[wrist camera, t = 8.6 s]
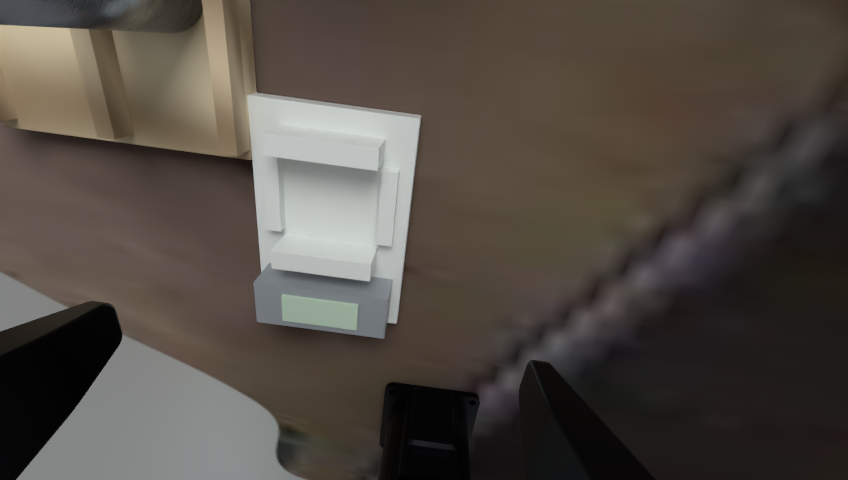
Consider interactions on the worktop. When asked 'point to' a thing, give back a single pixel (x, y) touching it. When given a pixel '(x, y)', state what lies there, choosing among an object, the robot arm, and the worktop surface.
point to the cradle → (331, 212)
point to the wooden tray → (136, 82)
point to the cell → (104, 14)
